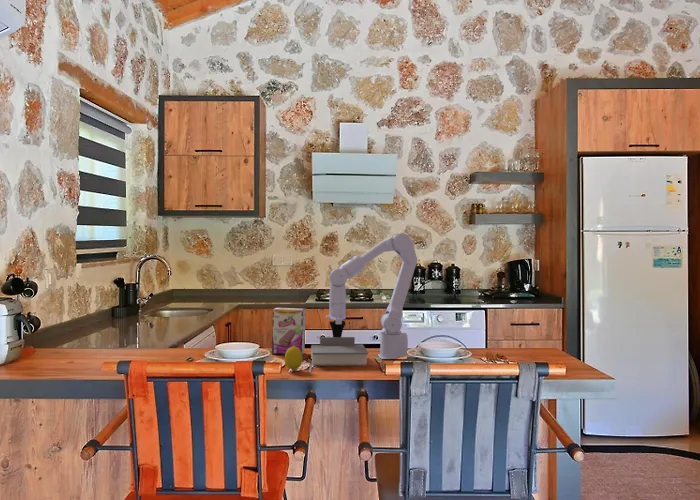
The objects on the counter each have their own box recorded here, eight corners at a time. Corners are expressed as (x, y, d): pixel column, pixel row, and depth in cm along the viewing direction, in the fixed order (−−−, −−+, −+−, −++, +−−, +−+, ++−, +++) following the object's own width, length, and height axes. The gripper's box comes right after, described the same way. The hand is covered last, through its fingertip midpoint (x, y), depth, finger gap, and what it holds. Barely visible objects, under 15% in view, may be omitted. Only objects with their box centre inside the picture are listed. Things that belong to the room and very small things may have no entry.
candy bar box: (271, 354, 202) (272, 309, 201) (274, 352, 207) (275, 307, 206) (302, 355, 201) (303, 309, 200) (304, 353, 206) (305, 308, 205)
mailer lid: (362, 346, 197) (362, 337, 197) (367, 354, 183) (368, 344, 183) (311, 346, 196) (311, 337, 196) (312, 354, 181) (312, 344, 181)
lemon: (299, 373, 174) (299, 347, 174) (282, 372, 175) (282, 346, 175) (304, 369, 179) (304, 344, 179) (287, 368, 180) (287, 343, 180)
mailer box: (361, 356, 200) (361, 345, 200) (366, 365, 186) (366, 353, 186) (311, 357, 198) (311, 345, 198) (312, 365, 184) (312, 353, 184)
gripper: (325, 301, 204) (324, 338, 205) (327, 305, 190) (326, 345, 190) (344, 301, 205) (344, 338, 205) (348, 305, 191) (347, 345, 191)
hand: (337, 341), depth 198 cm, fingers closed
